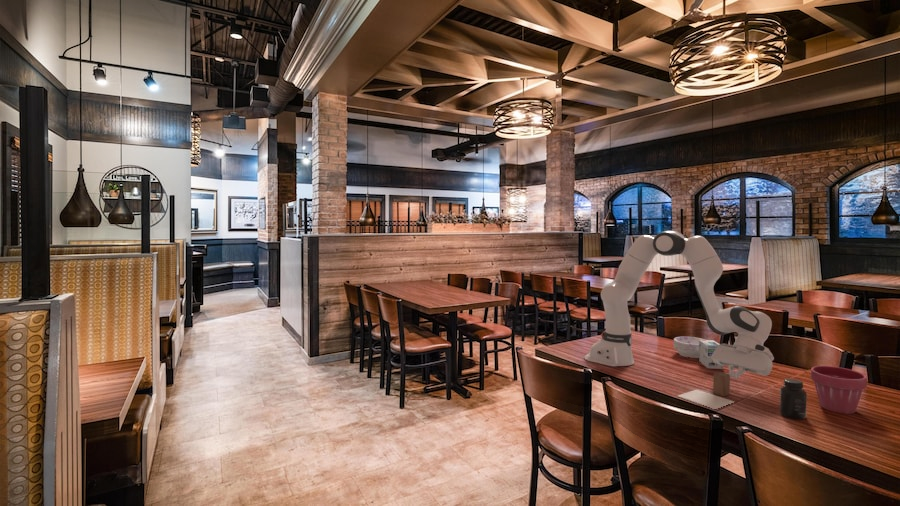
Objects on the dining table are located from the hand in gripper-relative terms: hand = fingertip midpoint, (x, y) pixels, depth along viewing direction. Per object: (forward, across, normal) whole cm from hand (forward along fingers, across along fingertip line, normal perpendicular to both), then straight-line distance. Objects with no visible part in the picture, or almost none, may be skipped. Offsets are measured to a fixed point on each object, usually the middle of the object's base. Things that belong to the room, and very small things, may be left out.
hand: (732, 376), depth 162 cm
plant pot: (-5, +27, +13) cm, 31 cm away
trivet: (+16, 0, -8) cm, 18 cm away
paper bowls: (-18, -36, +26) cm, 48 cm away
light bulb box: (-13, -22, +21) cm, 33 cm away
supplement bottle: (+8, +22, 0) cm, 24 cm away
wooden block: (+9, 0, -1) cm, 9 cm away
